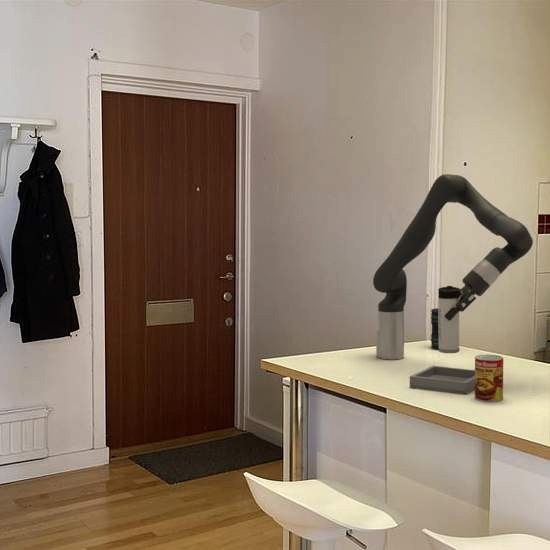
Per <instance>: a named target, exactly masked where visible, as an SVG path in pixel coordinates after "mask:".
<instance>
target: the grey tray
mask: <svg viewBox="0 0 550 550" xmlns="http://www.w3.org/2000/svg"><path fill="white" fill-rule="evenodd" d="M411 388H412V389H417V390H424V391H425V390H426V391H434V392H435V391H436V392H442V393H443V392H444V393H450V394H459V395H469V394H470V393H471V392H473V391H475V369H468V368H457V367H456V368H455V367H448V366H439V365H430V366H429V367H427V368H425V369H422V370H419V371H418V372H416V373H414V374H412V375H409V389H411Z"/></svg>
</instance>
